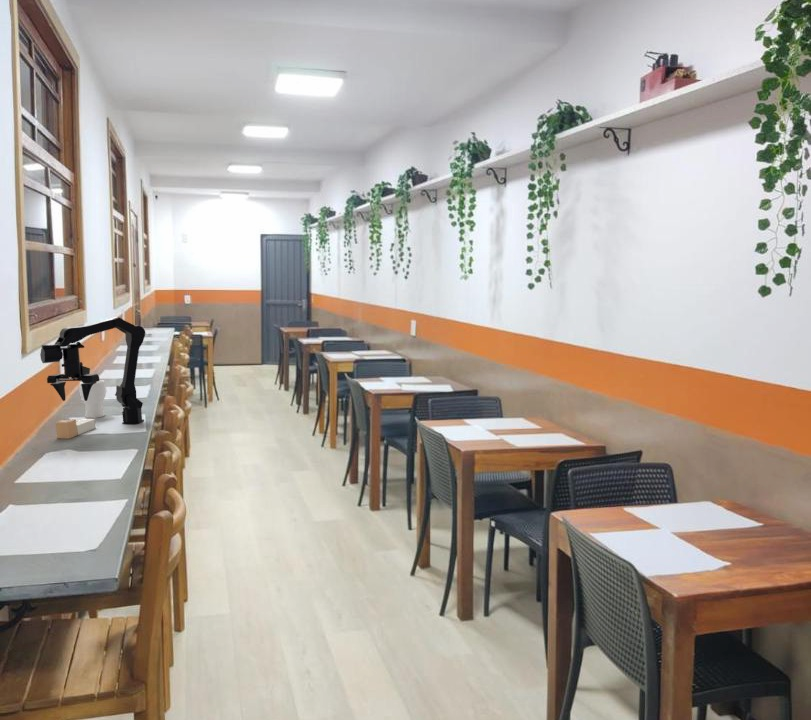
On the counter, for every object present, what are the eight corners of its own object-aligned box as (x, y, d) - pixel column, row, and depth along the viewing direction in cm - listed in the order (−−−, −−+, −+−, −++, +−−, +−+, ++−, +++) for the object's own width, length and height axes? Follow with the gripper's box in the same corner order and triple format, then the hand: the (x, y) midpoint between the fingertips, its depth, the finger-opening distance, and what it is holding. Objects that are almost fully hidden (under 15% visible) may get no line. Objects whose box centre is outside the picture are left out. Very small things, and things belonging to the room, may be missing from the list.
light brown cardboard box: (77, 435, 283) (75, 419, 282) (69, 438, 278) (67, 422, 277) (65, 435, 283) (63, 419, 282) (57, 438, 278) (55, 422, 278)
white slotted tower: (95, 427, 295) (94, 418, 294) (77, 434, 283) (77, 425, 283) (83, 427, 296) (83, 418, 295) (65, 434, 284) (64, 425, 283)
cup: (75, 417, 316) (72, 382, 314) (96, 413, 326) (93, 379, 324) (93, 419, 311) (90, 384, 309) (113, 414, 321) (111, 380, 319)
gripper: (105, 357, 292) (108, 397, 294) (62, 358, 295) (65, 396, 297) (89, 361, 281) (92, 402, 283) (44, 361, 284) (47, 402, 286)
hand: (75, 400), depth 288 cm, fingers open, 9 cm apart
